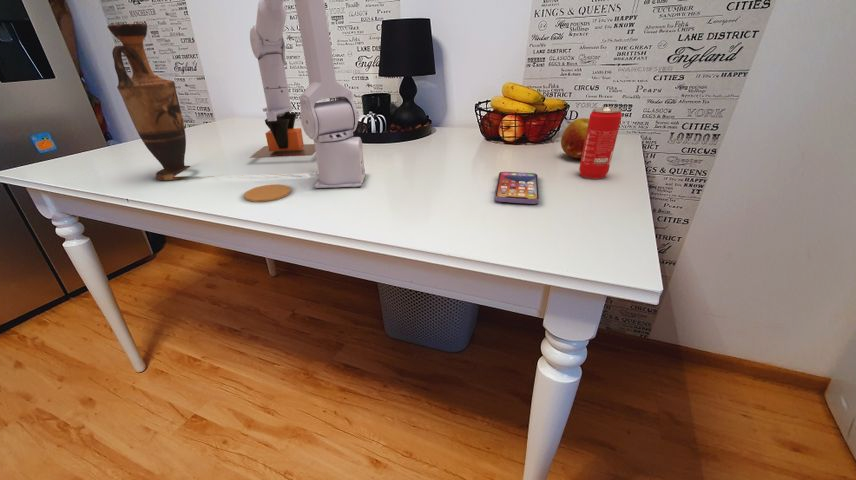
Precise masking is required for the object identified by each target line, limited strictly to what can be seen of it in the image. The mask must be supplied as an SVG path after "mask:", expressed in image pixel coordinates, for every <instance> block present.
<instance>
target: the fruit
mask: <svg viewBox="0 0 856 480" xmlns="http://www.w3.org/2000/svg"><path fill="white" fill-rule="evenodd" d="M588 123H589V118H587V117H579V118H576V119H574V120H572V121H571V122H570V123H569V124H568V125H567V126H566V127H565V129H564V131H563V133H562V135H561V139H560V146H561V149H562V151H563V152H564V153H565V154H566V155H568V156H569V157H571V158H574V159H581V158H582V153H583V148H584V143H585V138H586V133H587V128H588Z"/></svg>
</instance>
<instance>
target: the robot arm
mask: <svg viewBox="0 0 856 480" xmlns="http://www.w3.org/2000/svg"><path fill="white" fill-rule="evenodd" d="M284 1H285V0H259V1H258V3H257V10H256V11H257V12H256V20H255V25H252V27H251V28H250V30H249V41H250V42H249V43H250V47H251V51H252V53H253V56H254V57H255V59H257V63H258V68H259V73H260V77H261V84H262V88H263V93H264V98H265V103H266V107H263V108H262V112H264V113H265V116H266V119H264V123H265V125H266V126H267V128H268V129H269V131H270V130H271V132H272V134H273V136H274V138H275V140H276V143H277V145H278V147H279V149H287V148H288V134H287V133H288V129H294V128H295V122H296V119H297V112H293V106H292V102H291V98H290V92H289V86H288V80H287V74H286V69H285V68H286V67H285V66H286V61H287V60H286V43H285V39H284V36H283V35H284V29H285V24H286V21H287V9H286V7H285V5H284ZM325 3H326V2H325V0H294V4H295V10H296V14H297V15H296V17H297V22H298V27H299V33H300V38H301V44H302V49H303V56H304V61H305V66H306V67H305V68H306V72H307V78H308V86H307V87H306V89H305V90H304V91H303V92H302V93H301V95H300V96H299V105H300V122H301V127H302V130H303V131H304V134H305V135H306V136H307V137H308V138H309V139H310V140H311V141H313V144H314V145H315V158H316V164H317V165H316V166H317V172H318V180H317V181H316V183H315V184H314V188H315V189H324V188H326V189H328V188H355V187H356V188H357V187H362V185H363V182H364V180H365V177H366V168H365V158H364V148H363V141H362V138H361V137H360V136H354V132H355V131H356V130H357V127H358V124H359V113H358V109H357V107H356V104H355V100H354V97H353V91H352V90H351V89H350V88H348V87H346V86H345V85H344V84H342V83H341V82H339V81H338V80H337V78H336V71H335V65H334V58H333V51H332V45H331V38H330V30H329V24H328V17H327V11H326V4H325ZM328 99H334V100H328ZM321 100H328V101H321ZM318 101H320V102H318Z"/></svg>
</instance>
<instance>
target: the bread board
mask: <svg viewBox="0 0 856 480" xmlns="http://www.w3.org/2000/svg"><path fill="white" fill-rule="evenodd" d="M314 154H316V152H315V145H314V143H308V144H307V143H306V144H305V143H304V146H303V147H302V148H301V149H300V150H294V151H269V148H268V145H264V146H262V147H261V148H260V149H258V150H257V151H255V153H253V154H252V155H251V156H249V159H253V158H254V159H255V158H257V159H258V158H279V157H282V158H283V157H305V156H313V155H314Z"/></svg>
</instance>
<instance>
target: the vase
mask: <svg viewBox="0 0 856 480" xmlns="http://www.w3.org/2000/svg"><path fill="white" fill-rule="evenodd" d="M106 27H107V28H108V30H109V31H110V33H111V34H112V35H113V36H114V37H115V38H116V39H117V40H119V41H120V43H121V44H122V45H116V46H114V47H113V48H112V51H111V55H112V59H113V65H114V69H115V73H116V76H117V82H118V83H117V86H116V88H117V90H118V92H119V95H120V96H121V98H122V101H123V103H124V106H125V108H126V110H127V112H128V115H129V117H130V119H131V121H132V124H133V126H134V129H135V130H136V132H137V134H138V135H139V138H140V139H141V141H142V143H143V144H144V146H145V147H146V148H147V150H148V151H149V152H150V154H152V156H153V157H154V158H155V159H156V161H158V163H160V165H161V167H162V168H161V169H159V170H158V171H157V172H156V173H155V177H156V179H157V180H159V181H173V180H175V181H176V180H180V179H184V178H188V177H189V176H188V175H182V176H177V175H179V174H181V173H183V172H184V171H186V170H188V169H189V168H191V167H192V165H185V157H186V150H187V137H186V128H185V123H184V118H183V114H182V109H181V106H180V101H179V98H178V94H177V88H176V83H175V81H174V80H171V79H170V80H169V79H164V78H162V77H159V76H158V75H156V74H155V73H154V72H153V70H152V68H151V65H150V63H149V60H148V57H147V54H146V51H145V47H144V39H145V38H146V37H147V35H148V34H147V33H148V24H147V23H120V24H109V25H106ZM122 54H123V55H124V56H125V58H126V60H127V62H128V64H129V66H130V68H131V70H132V75H131V77H130V76H129V74H128V73H127V71H126V68H125V65H124V61H123V57H122Z"/></svg>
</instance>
